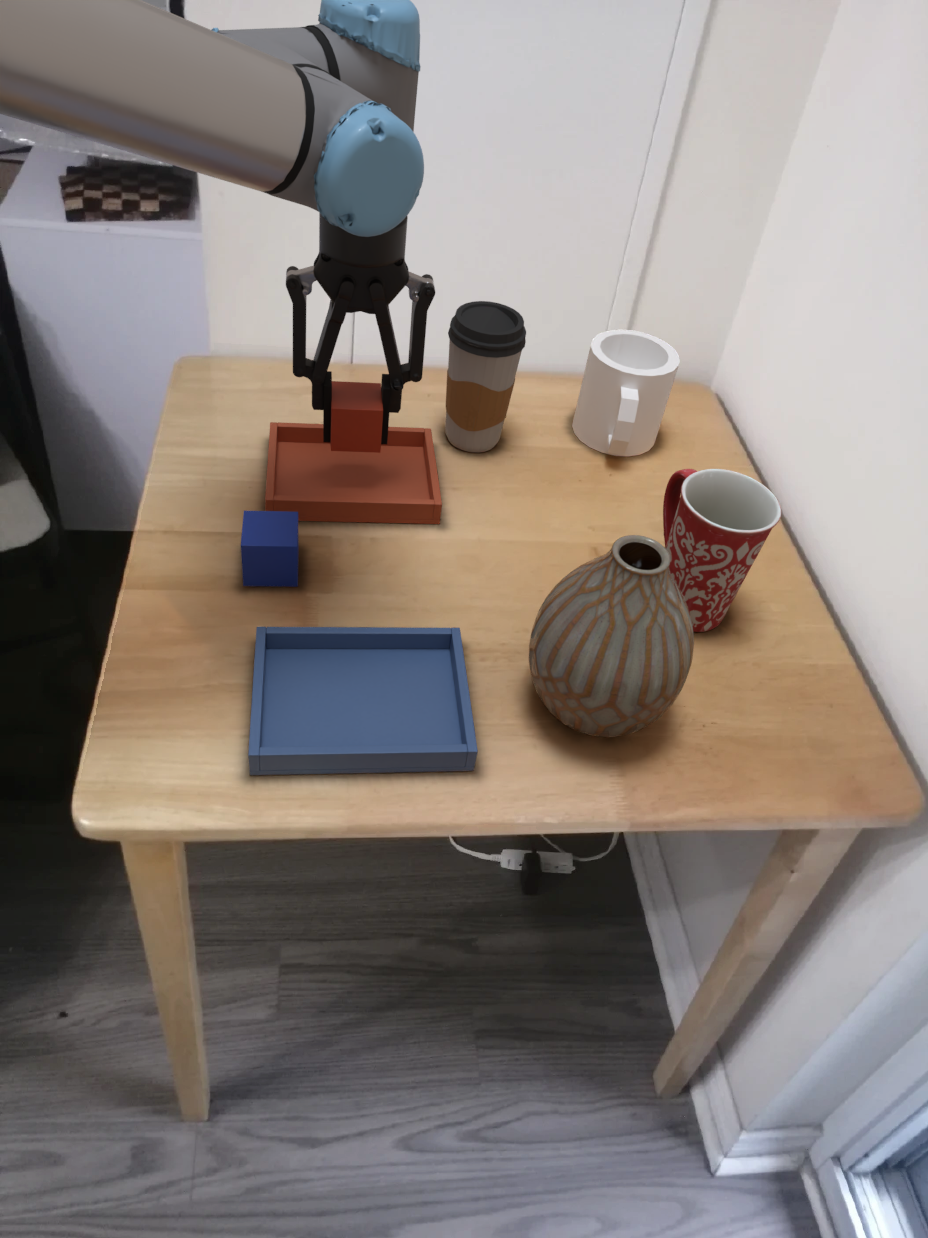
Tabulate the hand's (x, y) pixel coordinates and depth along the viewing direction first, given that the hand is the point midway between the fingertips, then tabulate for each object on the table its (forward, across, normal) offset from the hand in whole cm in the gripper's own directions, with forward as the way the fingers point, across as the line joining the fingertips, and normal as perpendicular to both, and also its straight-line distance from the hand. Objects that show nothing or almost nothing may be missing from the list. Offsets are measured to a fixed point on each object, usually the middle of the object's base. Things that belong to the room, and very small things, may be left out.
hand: (355, 435), depth 96 cm
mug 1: (+6, +31, +10) cm, 33 cm away
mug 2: (+6, +32, -17) cm, 37 cm away
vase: (+6, +20, -31) cm, 37 cm away
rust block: (0, 0, 0) cm, 0 cm away
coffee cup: (+6, +14, +9) cm, 18 cm away
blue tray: (+6, 0, -31) cm, 32 cm away
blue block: (+6, -8, -14) cm, 17 cm away
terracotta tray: (+6, 0, 0) cm, 6 cm away
